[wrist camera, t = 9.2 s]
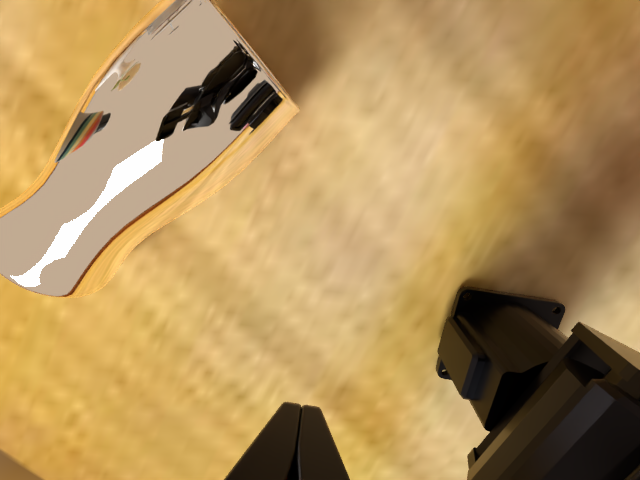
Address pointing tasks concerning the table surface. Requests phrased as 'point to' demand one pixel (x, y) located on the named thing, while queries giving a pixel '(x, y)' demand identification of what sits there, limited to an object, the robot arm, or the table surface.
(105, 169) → the beer glass
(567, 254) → the table surface
